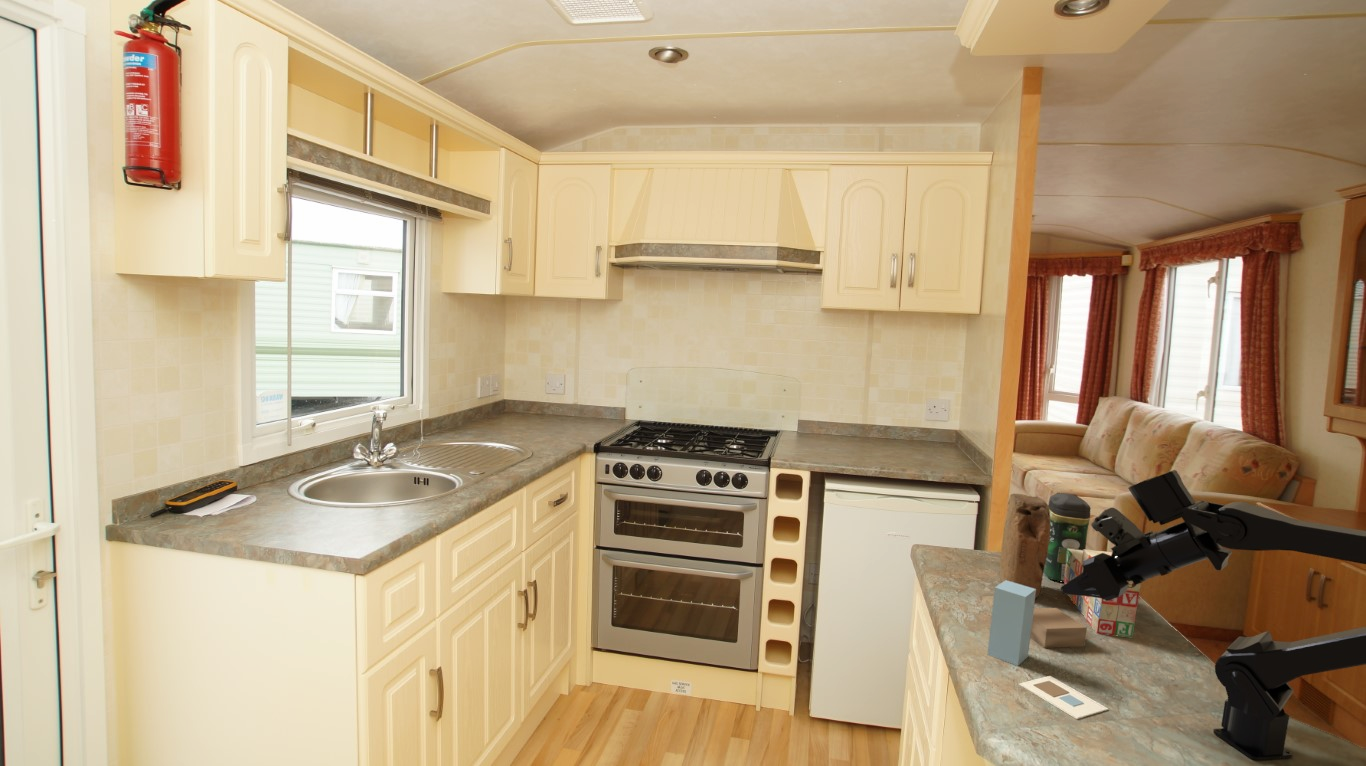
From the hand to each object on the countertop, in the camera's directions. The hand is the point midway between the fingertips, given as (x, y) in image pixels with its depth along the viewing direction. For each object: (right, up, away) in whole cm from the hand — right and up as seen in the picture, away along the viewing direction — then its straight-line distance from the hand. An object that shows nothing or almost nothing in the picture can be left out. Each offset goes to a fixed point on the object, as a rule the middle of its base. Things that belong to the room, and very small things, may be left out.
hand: (1074, 584), depth 119 cm
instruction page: (-6, -15, -7) cm, 18 cm away
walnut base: (+3, -13, +14) cm, 19 cm away
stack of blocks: (+18, -13, +26) cm, 34 cm away
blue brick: (-8, -14, +6) cm, 17 cm away
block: (+7, -11, +35) cm, 37 cm away
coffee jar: (+21, -11, +44) cm, 50 cm away
